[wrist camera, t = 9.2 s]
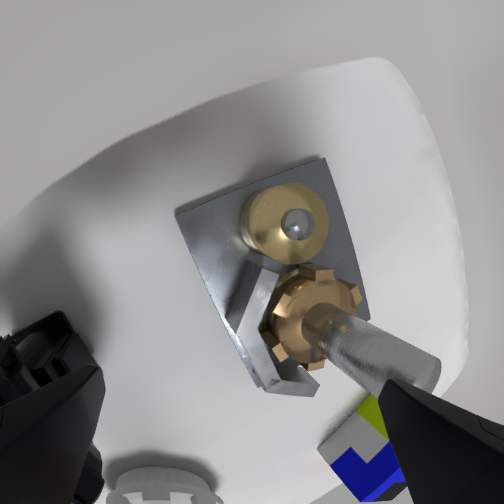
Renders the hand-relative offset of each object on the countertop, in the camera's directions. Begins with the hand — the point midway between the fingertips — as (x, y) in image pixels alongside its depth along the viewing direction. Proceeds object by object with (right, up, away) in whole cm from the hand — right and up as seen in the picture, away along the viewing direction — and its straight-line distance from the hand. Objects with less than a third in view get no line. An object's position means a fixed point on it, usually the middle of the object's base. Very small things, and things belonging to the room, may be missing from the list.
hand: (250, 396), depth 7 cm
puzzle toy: (+14, -19, +21) cm, 32 cm away
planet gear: (+4, -1, +14) cm, 14 cm away
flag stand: (-10, -23, +14) cm, 29 cm away
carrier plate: (+3, +2, +14) cm, 15 cm away
